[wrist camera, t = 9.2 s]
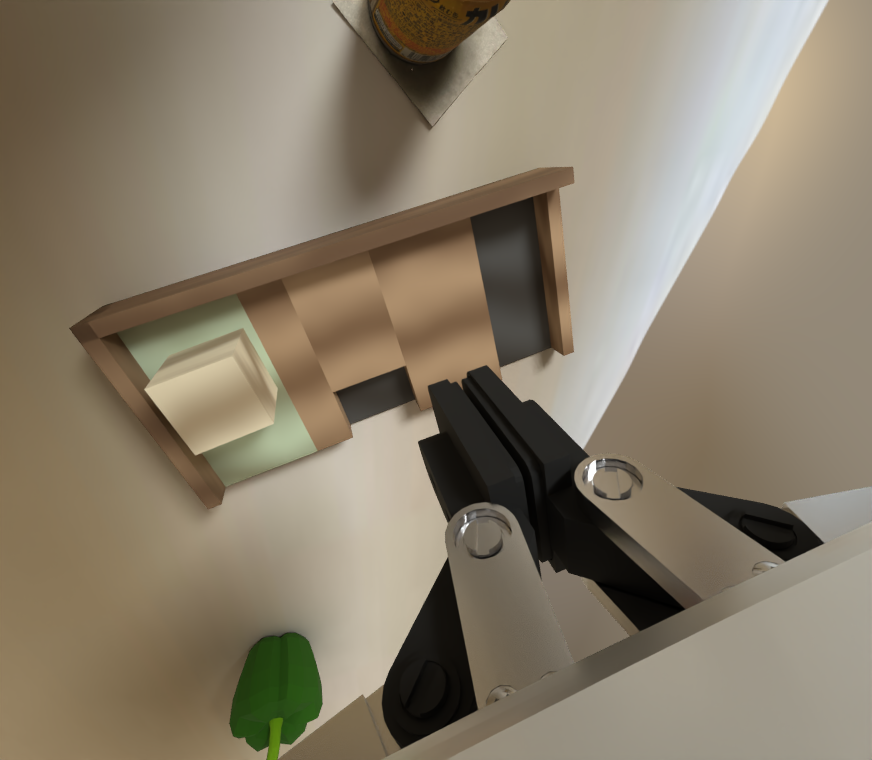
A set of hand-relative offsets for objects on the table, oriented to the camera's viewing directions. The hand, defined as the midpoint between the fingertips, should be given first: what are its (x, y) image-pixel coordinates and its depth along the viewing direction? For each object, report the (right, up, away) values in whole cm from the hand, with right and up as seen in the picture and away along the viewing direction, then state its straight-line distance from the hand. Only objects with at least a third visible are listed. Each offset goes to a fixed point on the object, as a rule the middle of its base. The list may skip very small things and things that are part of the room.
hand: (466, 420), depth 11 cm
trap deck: (-5, +5, +22) cm, 23 cm away
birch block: (-15, +2, +17) cm, 23 cm away
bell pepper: (-18, -28, +35) cm, 48 cm away
